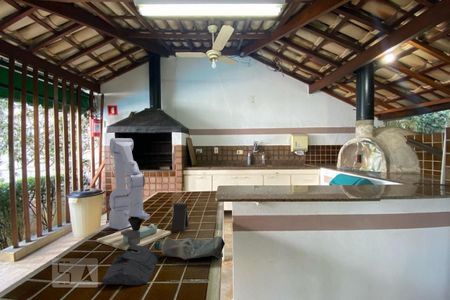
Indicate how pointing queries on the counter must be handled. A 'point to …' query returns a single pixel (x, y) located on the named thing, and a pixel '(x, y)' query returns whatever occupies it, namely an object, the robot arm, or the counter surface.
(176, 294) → the counter surface
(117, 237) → the keeper board
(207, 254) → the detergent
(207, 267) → the counter surface
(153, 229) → the link
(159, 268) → the counter surface
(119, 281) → the dark grey cloth
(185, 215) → the phone stand
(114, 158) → the robot arm
